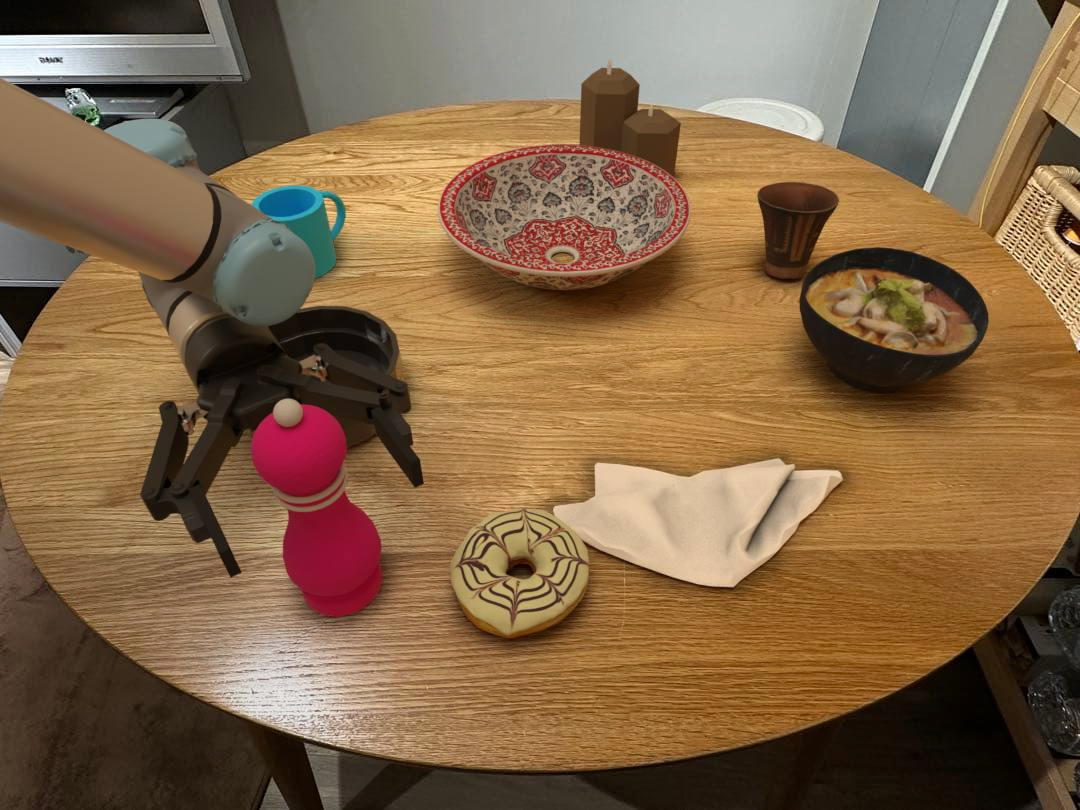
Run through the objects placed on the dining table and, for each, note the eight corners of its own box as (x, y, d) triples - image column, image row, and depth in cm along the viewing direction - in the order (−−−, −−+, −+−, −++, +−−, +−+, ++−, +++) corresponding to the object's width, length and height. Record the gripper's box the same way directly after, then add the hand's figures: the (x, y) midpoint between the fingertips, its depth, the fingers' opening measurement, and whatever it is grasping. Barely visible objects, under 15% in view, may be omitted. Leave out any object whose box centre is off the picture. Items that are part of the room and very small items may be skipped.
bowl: (756, 376, 79) (776, 297, 72) (822, 296, 89) (845, 220, 82) (924, 450, 72) (965, 370, 65) (976, 354, 81) (1017, 275, 74)
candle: (551, 163, 113) (552, 57, 102) (630, 143, 117) (639, 40, 107) (598, 205, 104) (604, 94, 94) (681, 182, 108) (696, 74, 98)
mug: (300, 289, 90) (283, 228, 85) (254, 267, 94) (235, 207, 88) (372, 244, 97) (361, 185, 92) (327, 224, 101) (314, 166, 95)
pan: (273, 485, 69) (257, 443, 65) (218, 384, 79) (201, 342, 75) (434, 414, 75) (428, 372, 71) (364, 328, 85) (356, 287, 81)
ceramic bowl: (608, 182, 109) (612, 127, 103) (730, 292, 90) (743, 232, 84) (411, 230, 100) (403, 172, 94) (501, 363, 81) (497, 301, 75)
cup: (782, 239, 98) (800, 165, 91) (834, 274, 92) (857, 198, 85) (727, 258, 95) (742, 184, 88) (778, 296, 89) (798, 219, 82)
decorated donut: (426, 582, 62) (421, 554, 59) (526, 509, 67) (525, 481, 64) (513, 672, 56) (511, 646, 53) (614, 585, 61) (617, 557, 59)
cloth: (555, 591, 61) (555, 575, 59) (551, 461, 71) (551, 444, 69) (883, 587, 61) (892, 571, 59) (834, 458, 71) (840, 441, 69)
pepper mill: (344, 531, 65) (289, 350, 51) (407, 573, 62) (368, 392, 48) (277, 592, 61) (199, 412, 47) (342, 640, 58) (278, 463, 44)
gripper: (371, 333, 73) (487, 474, 60) (91, 441, 63) (160, 637, 50) (357, 266, 68) (482, 405, 55) (50, 373, 58) (116, 572, 45)
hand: (329, 516), depth 53 cm, fingers open, 13 cm apart
